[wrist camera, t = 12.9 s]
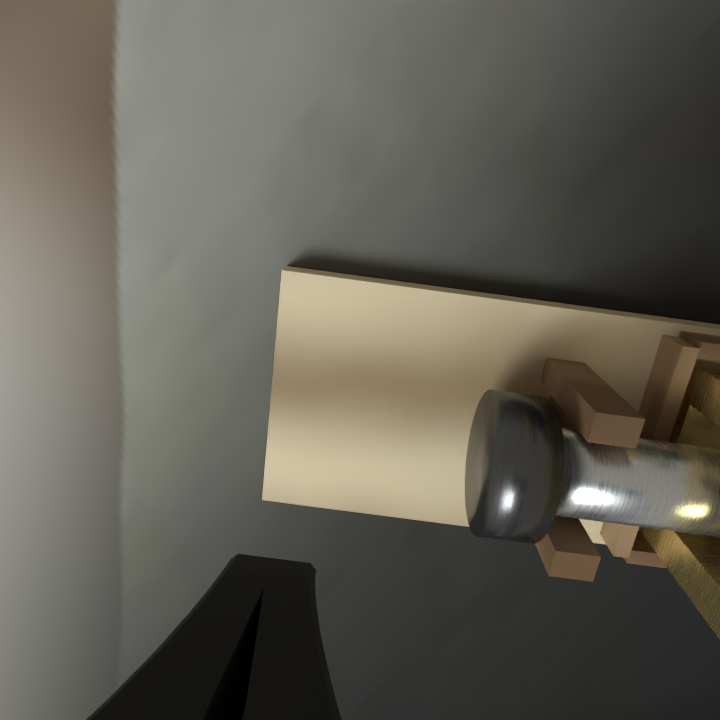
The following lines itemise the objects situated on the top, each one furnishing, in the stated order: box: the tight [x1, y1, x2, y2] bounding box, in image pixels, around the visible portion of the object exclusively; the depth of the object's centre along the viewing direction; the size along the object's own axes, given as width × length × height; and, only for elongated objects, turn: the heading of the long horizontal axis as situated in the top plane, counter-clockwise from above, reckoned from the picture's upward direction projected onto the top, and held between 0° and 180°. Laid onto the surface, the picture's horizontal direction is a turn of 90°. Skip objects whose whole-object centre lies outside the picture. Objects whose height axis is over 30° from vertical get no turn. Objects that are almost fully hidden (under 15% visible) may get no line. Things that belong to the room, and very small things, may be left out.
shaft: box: [465, 389, 720, 544], centre depth 16 cm, size 4×12×4 cm, turn 82°
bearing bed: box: [262, 266, 720, 582], centre depth 17 cm, size 8×18×5 cm, turn 83°
